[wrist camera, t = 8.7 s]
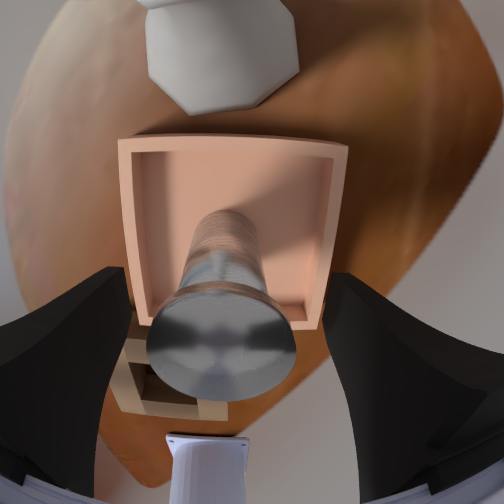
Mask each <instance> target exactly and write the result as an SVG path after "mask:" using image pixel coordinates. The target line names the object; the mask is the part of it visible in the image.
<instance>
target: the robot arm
mask: <svg viewBox="0 0 504 504" xmlns="http://www.w3.org/2000/svg"><path fill="white" fill-rule="evenodd" d="M131 318H132V310H131V305H130V300H129V295H128V289H127V284H126V278H125V272H124V267H109V266H108V267H106V268H104V269H102V270H100V271H98V272H97V273H95V274H93V275H92V276H90V277H89V278H87V279H86V280H84V281H82V282H81V283H79V284H78V285H76V286H75V287H73V288H72V289H70V290H69V291H67V292H65V293H64V294H62V295H61V296H59V297H57V298H56V299H54V300H52V301H51V302H49V303H47V304H46V305H44V306H42V307H41V308H39V309H37V310H35V311H33V312H31V313H29V314H27V315H25V316H24V317H21V318H19V319H17V320H15V321H12V322H10V323H8V324H5V325H3V326H0V504H111V503H107V502H103V501H99V500H96V499H92V498H93V497H94V463H95V451H96V441H97V434H98V428H99V422H100V416H101V411H102V407H103V402H104V398H105V394H106V391H107V388H108V385H109V382H110V379H111V377H112V374H113V371H114V369H115V366H116V364H117V361H118V359H119V356H120V354H121V351H122V348H123V346H124V343H125V341H126V338H127V334H128V331H129V327H130V323H131ZM322 322H323V327H324V332H325V337H326V341H327V345H328V348H329V350H330V353H331V356H332V359H333V362H334V364H335V367H336V369H337V373H338V375H339V378H340V381H341V383H342V386H343V389H344V391H345V395H346V399H347V402H348V406H349V412H350V417H351V421H352V427H353V433H354V439H355V445H356V453H357V461H358V470H359V489H360V504H504V354H501V353H497V352H493V351H489V350H486V349H483V348H480V347H477V346H474V345H471V344H468V343H466V342H463V341H460V340H458V339H456V338H454V337H452V336H449V335H447V334H445V333H443V332H441V331H439V330H437V329H435V328H433V327H431V326H429V325H427V324H425V323H424V322H422V321H420V320H418V319H417V318H415V317H413V316H412V315H410V314H409V313H407V312H405V311H404V310H402V309H401V308H399V307H398V306H396V305H395V304H393V303H392V302H390V301H389V300H388V299H386V298H385V297H383V296H382V295H380V294H379V293H378V292H376V291H375V290H373V289H372V288H371V287H369V286H368V285H366V284H365V283H364V282H362V281H361V280H359V279H358V278H356V277H355V276H353V275H351V274H349V273H332V276H331V281H330V286H329V290H328V295H327V299H326V304H325V308H324V313H323V317H322ZM166 440H167V443H168V445H169V448H170V450H171V453H172V455H173V458H174V461H173V471H172V481H171V491H170V503H169V504H246V491H245V472H246V466H247V459H248V450H249V439H248V438H245V437H205V436H189V435H177V434H167V435H166Z"/></svg>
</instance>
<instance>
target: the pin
mask: <svg viewBox="0 0 504 504" xmlns="http://www.w3.org/2000/svg"><path fill="white" fill-rule="evenodd" d="M146 353H147V357H148V360H149V363H150V365H151V367H152V368H153V370H154V371H155V372H156V374H157V375H158V376H159V377H160V378H161V379H162V380H163V381H164V382H166V383H167V384H168V385H170V386H171V387H173V388H174V389H176V390H178V391H180V392H182V393H184V394H187V395H189V396H192V397H195V398H199V399H203V400H210V401H238V400H244V399H249V398H252V397H255V396H258V395H261V394H263V393H265V392H267V391H269V390H271V389H272V388H274V387H276V386H277V385H278V384H279V383H281V382H282V381H283V380H284V379H285V378H286V377H287V375H288V374H289V373H290V371H291V369H292V367H293V365H294V362H295V358H296V345H295V341H294V336H293V332H292V328H291V324H290V320H289V318H288V316H287V314H286V312H285V311H284V309H283V308H282V307H281V306H280V305H279V304H278V302H277V301H275V300H274V299H273V298H272V297H270V296H269V295H268V291H267V285H266V279H265V274H264V268H263V263H262V257H261V251H260V246H259V240H258V235H257V231H256V229H255V227H254V225H253V223H252V222H251V221H250V220H249V219H248V218H247V217H245V216H244V215H242V214H240V213H238V212H235V211H231V210H220V211H216V212H213V213H210V214H208V215H207V216H205V217H204V218H203V219H202V220H201V221H200V222H199V223H198V225H197V227H196V229H195V232H194V235H193V238H192V242H191V245H190V248H189V252H188V255H187V259H186V263H185V266H184V270H183V273H182V277H181V281H180V284H179V288H178V291H176V292H174V293H173V294H172V295H170V296H169V297H168V298H166V299H165V300H164V301H163V302H162V303H161V305H160V306H159V308H158V309H157V311H156V313H155V315H154V317H153V320H152V324H151V327H150V330H149V333H148V337H147V341H146Z"/></svg>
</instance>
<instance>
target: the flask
mask: <svg viewBox="0 0 504 504" xmlns="http://www.w3.org/2000/svg"><path fill="white" fill-rule="evenodd" d="M137 1H138V2H139V3H140V4H142V5H143V6H144V7H146V8H147V9H149V10H148V14H147V17H146V21H145V34H146V49H147V61H148V72H149V78H150V79H151V80H153V81H154V82H155V83H156V84H157V85H158V86H159V87H160V88H161V89H162V90H163V91H164V92H165V93H166V94H167V95H168V96H169V97H170V98H171V99H173V100H174V101H175V102H176V103H177V104H178V105H179V106H180V107H181V108H182V109H183V110H184V111H185V112H186V113H187V114H188V115H189V116H196V115H203V114H211V113H219V112H228V111H237V110H248V109H253V108H255V107H256V106H257V105H258V104H259V103H261V102H262V101H263V100H264V99H265V98H267V97H268V96H269V95H270V94H272V93H273V92H274V91H275V90H276V89H278V88H279V87H280V86H282V85H283V84H284V83H285V82H287V81H288V80H289V79H290V78H292V77H293V76H294V75H296V74H297V73H298V72H300V71H299V60H298V50H297V41H296V32H295V24H294V17H293V16H292V14H291V13H290V12H289V10H288V9H287V8H286V7H285V6H284V5H283V3H282V2H281V1H280V0H137Z"/></svg>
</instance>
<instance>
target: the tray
mask: <svg viewBox="0 0 504 504" xmlns="http://www.w3.org/2000/svg"><path fill="white" fill-rule="evenodd" d="M348 148H349V147H348V146H346V145H343V144H340V143H337V142H334V141H326V140H317V139H308V138H297V137H286V136H272V135H256V134H231V133H169V134H145V135H132V136H128V137H125V138H121V139H118V156H119V176H120V191H121V203H122V214H123V224H124V232H125V241H126V248H127V256H128V262H129V269H130V275H131V281H132V287H133V293H134V298H135V304H136V309H137V314H138V319H139V324H140V325H148V326H151V324H152V320H153V317H154V315H155V313H156V311H157V309H158V308H159V306H160V305H161V303H162V302H163V301H164V300H165V299H166V298H168V297H169V296H170V295H172V294H173V293H174V292H176V291H178V288H179V284H180V281H181V277H182V273H183V270H184V266H185V263H186V259H187V255H188V252H189V248H190V245H191V242H192V238H193V235H194V232H195V229H196V227H197V225H198V223H199V222H200V221H201V220H202V219H203V218H204V217H205V216H207V215H208V214H210V213H213V212H216V211H220V210H231V211H235V212H238V213H240V214H242V215H244V216H245V217H247V218H248V219H249V220H250V221H251V222H252V223H253V225H254V227H255V229H256V231H257V235H258V240H259V246H260V251H261V257H262V263H263V268H264V274H265V279H266V285H267V291H268V295H269V296H270V297H272V298H273V299H274V300H275V301H277V302H278V304H279V305H280V306H281V307H282V308H283V309H284V311H285V312H286V314H287V316H288V318H289V320H290V324H291V328H292V330H307V329H317V325H318V321H319V316H320V312H321V308H322V303H323V298H324V294H325V289H326V284H327V279H328V275H329V270H330V264H331V259H332V254H333V249H334V243H335V237H336V232H337V226H338V220H339V214H340V207H341V201H342V194H343V187H344V180H345V172H346V165H347V156H348Z"/></svg>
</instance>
